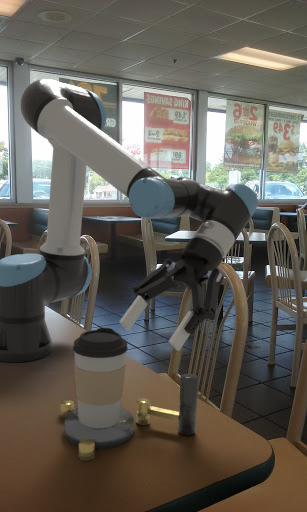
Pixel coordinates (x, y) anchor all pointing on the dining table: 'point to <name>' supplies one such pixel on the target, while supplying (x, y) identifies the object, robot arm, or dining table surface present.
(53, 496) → the dining table surface
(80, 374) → the coffee cup
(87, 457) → the plate
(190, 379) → the lever
